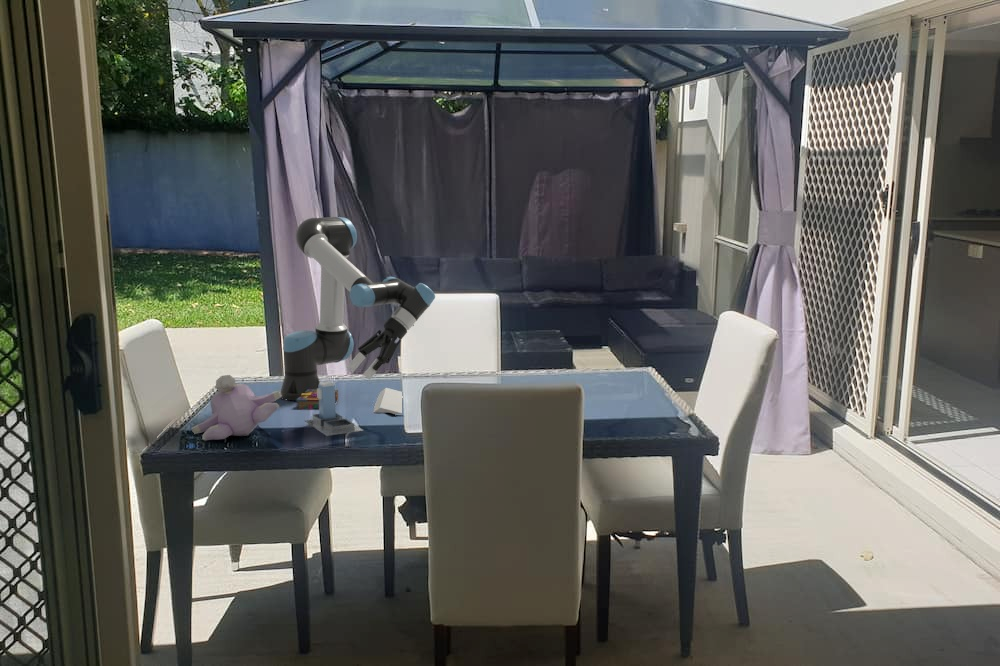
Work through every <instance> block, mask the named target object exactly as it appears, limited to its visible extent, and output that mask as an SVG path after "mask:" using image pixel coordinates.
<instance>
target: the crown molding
mask: <svg viewBox="0 0 1000 666" xmlns="http://www.w3.org/2000/svg"><path fill="white" fill-rule="evenodd" d="M402 392H403V391H400V390H396V389H392V388H389V387H385V388H383V389H382V390H381V391H380V392H379V393H380V394H379V393H378V394H379V396H378V398H377V401H376V403H375V406H374V408H373V412H372V413H374V414H375V413H383V414H385V413H390V414H393V415H394V414H400V413H402V398H403V396H402Z"/></svg>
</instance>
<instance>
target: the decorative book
mask: <svg viewBox="0 0 1000 666" xmlns="http://www.w3.org/2000/svg"><path fill="white" fill-rule="evenodd" d="M337 400H338V401H339V390H338V389H337V390H336V389H335V403H336V402H337V403H338V401H337ZM295 402H297V405H298V408H296V410H303V409H306V410H307V409H308V410H312V409H319V398H317V390H315V389H307V390H306V391H305V393H302V394H301V397H299V398H298V399H296V401H295Z"/></svg>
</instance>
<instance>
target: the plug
mask: <svg viewBox="0 0 1000 666" xmlns="http://www.w3.org/2000/svg"><path fill="white" fill-rule="evenodd" d="M335 390H336V386H335V384H334V382H332V381H323V382H320V383H319V385H318V388H317V398H319V408H318V414H319V418H321V419H326V418H333V417H336V413H337V411H336V410H337V409H336V405H335Z"/></svg>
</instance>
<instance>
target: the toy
mask: <svg viewBox="0 0 1000 666" xmlns="http://www.w3.org/2000/svg"><path fill="white" fill-rule="evenodd" d="M215 389H216V390H218V391H216V392H215V394H213V396H212V398H211V399H210V400H209V402H210V408H211V413H212V415H210V417H209V418H207V419H205V420H204V421H203V422H199V423H198V424H196V425H194V426H192V427H191V428H190V430H191V432H193V433H194V434H193V435H197V434H200V433H203V432H204V433H203V434H202V435H201V436H202V440H203V441H210V440H216V441H217V440H225V439H227V438H228V437H229V436H234V437H238V436H239V437H243V436H244V437H245V436H248V435H250V434H251V433H252V432H253V431H254V430H255V428H256V427H257V426H258V424H260V423H264V422H266V421H267V420H268V419H269V418H270V417H271V416H272V415H273V414H274V413H275V412H276V411H277V410H278V409H279V408H280V404H278V403H277V402H275V401H277V400H279V399H281V397H282V395H281V393H280V391H281V390H276V391H275V390H274V391H273V392H271V393H270V392H269V393H267V394H265V395H264V394H263V395H255V393H254V392H253V390H252V389H251V388H250V387H249V385H248V384H241V383H236V378H234V377H233V376H231V374H227V375H221V376H219V378H217V379H216V381H215Z"/></svg>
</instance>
